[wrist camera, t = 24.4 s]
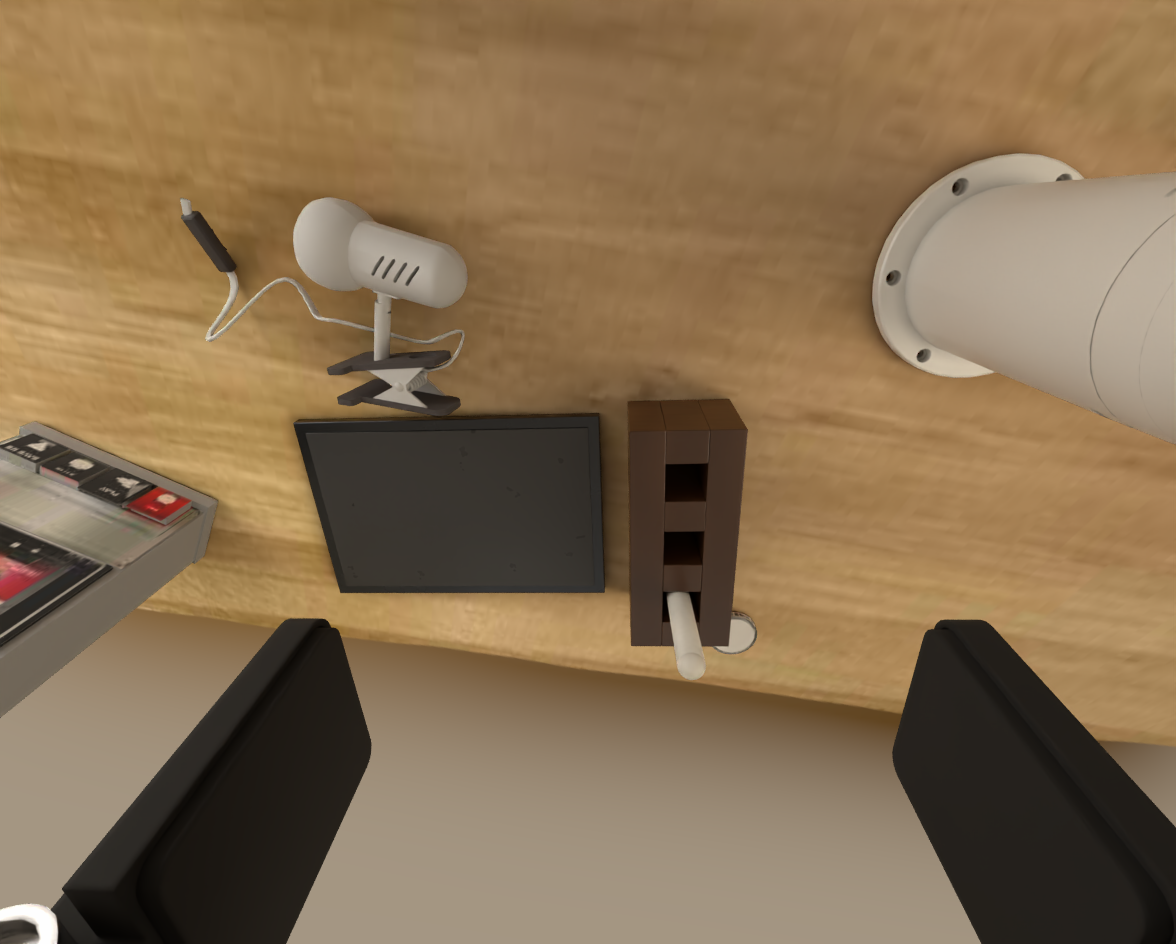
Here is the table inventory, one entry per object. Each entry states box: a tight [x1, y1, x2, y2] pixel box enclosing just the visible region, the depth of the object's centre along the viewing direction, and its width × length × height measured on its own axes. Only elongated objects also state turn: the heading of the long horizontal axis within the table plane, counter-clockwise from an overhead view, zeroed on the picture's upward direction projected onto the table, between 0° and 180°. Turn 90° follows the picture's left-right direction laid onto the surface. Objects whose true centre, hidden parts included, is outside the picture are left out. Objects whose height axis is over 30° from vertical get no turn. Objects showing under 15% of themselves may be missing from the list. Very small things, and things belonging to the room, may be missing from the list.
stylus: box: [666, 592, 706, 680], centre depth 37 cm, size 2×2×14 cm
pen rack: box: [628, 399, 748, 647], centre depth 39 cm, size 7×17×6 cm, turn 2°
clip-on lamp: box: [180, 197, 468, 416], centre depth 34 cm, size 12×6×18 cm
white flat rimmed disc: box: [712, 612, 757, 654], centre depth 46 cm, size 4×4×1 cm
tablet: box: [293, 413, 605, 593], centre depth 42 cm, size 22×15×1 cm
